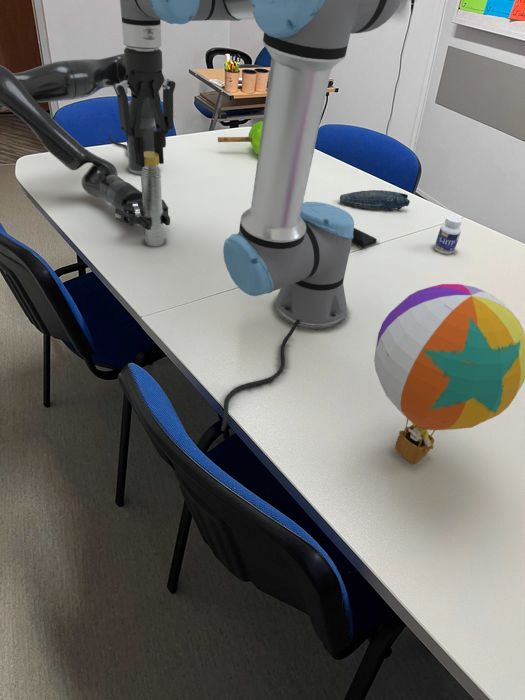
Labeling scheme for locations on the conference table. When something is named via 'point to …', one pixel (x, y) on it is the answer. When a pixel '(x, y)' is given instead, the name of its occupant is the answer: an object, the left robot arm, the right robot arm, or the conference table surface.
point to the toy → (448, 362)
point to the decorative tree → (253, 137)
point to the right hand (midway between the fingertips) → (149, 163)
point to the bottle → (152, 204)
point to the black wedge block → (362, 238)
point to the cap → (151, 158)
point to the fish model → (376, 199)
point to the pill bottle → (448, 235)
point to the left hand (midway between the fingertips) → (158, 223)
